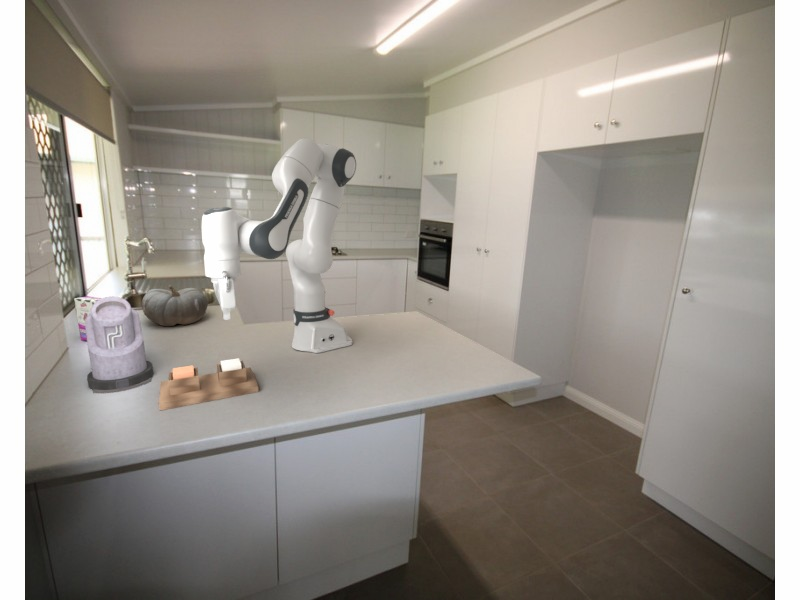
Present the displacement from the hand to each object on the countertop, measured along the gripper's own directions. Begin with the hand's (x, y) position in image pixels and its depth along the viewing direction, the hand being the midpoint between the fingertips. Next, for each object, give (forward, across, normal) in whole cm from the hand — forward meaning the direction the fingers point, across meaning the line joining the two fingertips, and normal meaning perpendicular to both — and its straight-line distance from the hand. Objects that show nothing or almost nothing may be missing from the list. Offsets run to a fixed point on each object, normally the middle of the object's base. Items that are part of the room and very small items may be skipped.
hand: (226, 318), depth 111 cm
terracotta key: (+16, 0, +12) cm, 20 cm away
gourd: (+21, +78, +14) cm, 82 cm away
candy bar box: (+21, +63, +41) cm, 78 cm away
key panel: (+20, 0, +6) cm, 21 cm away
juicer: (+21, +25, +29) cm, 43 cm away
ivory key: (+16, 0, 0) cm, 16 cm away
